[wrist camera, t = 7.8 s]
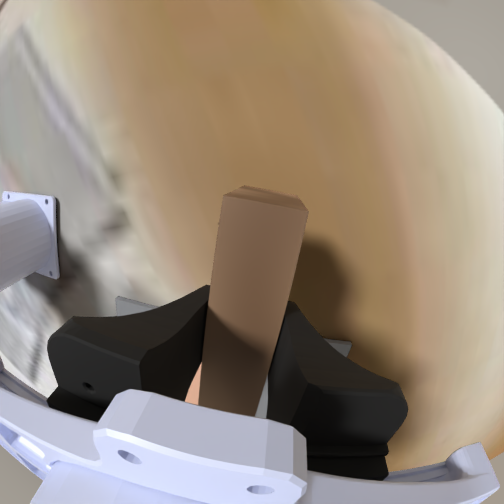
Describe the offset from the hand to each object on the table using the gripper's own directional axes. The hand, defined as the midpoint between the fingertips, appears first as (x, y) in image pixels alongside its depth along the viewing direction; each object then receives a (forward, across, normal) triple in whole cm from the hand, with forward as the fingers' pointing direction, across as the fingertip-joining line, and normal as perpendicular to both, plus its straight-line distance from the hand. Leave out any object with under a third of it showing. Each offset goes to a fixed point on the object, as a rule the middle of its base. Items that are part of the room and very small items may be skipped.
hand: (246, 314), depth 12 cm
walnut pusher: (+3, 0, 0) cm, 3 cm away
